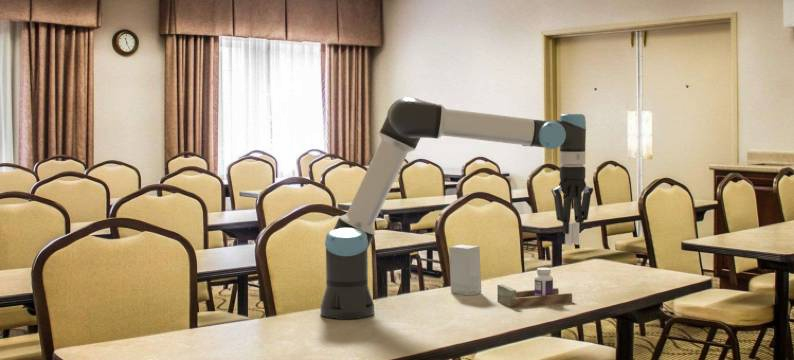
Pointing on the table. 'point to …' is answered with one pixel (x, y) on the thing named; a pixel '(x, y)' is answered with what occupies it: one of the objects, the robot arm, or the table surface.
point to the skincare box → (465, 269)
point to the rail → (529, 297)
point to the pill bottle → (543, 282)
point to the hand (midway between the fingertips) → (572, 244)
